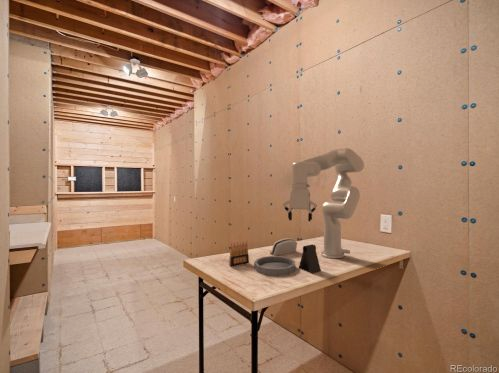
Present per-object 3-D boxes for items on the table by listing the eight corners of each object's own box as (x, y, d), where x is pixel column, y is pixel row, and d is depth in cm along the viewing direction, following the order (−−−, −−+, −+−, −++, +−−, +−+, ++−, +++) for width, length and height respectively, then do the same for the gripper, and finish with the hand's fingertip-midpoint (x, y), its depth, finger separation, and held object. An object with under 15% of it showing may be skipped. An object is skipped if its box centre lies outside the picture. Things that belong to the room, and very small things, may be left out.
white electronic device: (291, 249, 161) (294, 235, 158) (295, 253, 157) (299, 239, 154) (269, 253, 152) (272, 239, 149) (273, 258, 148) (276, 243, 145)
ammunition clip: (230, 266, 130) (230, 243, 130) (229, 265, 132) (228, 242, 131) (249, 263, 135) (248, 240, 135) (247, 262, 137) (247, 240, 137)
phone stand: (320, 271, 122) (320, 246, 122) (311, 273, 119) (311, 248, 119) (307, 265, 130) (307, 242, 129) (298, 268, 127) (298, 244, 126)
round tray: (296, 262, 135) (295, 257, 135) (293, 276, 115) (293, 270, 115) (258, 260, 139) (258, 255, 139) (250, 273, 120) (250, 267, 120)
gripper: (318, 186, 128) (318, 220, 128) (284, 186, 135) (285, 218, 135) (316, 186, 121) (316, 222, 121) (281, 186, 128) (281, 220, 128)
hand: (299, 220), depth 128 cm, fingers open, 9 cm apart
